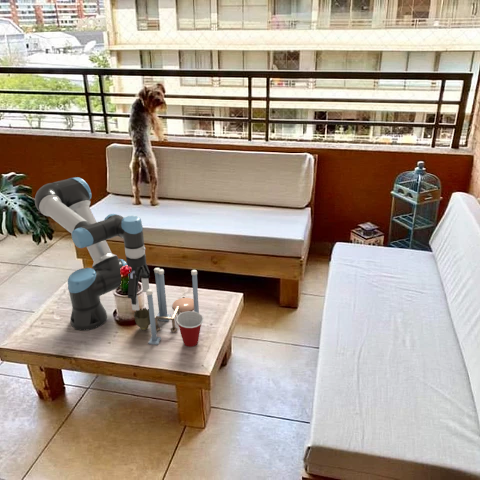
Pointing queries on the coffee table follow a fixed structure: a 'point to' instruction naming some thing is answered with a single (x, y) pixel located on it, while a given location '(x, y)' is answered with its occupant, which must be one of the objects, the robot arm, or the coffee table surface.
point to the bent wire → (168, 319)
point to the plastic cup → (189, 327)
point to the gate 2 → (195, 291)
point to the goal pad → (184, 304)
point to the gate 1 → (149, 292)
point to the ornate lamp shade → (142, 318)
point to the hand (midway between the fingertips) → (141, 300)
